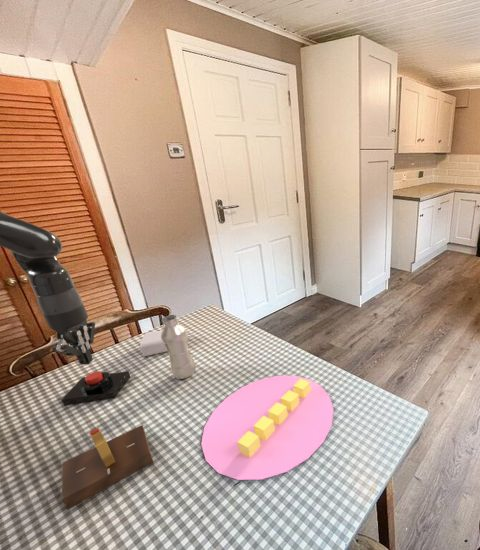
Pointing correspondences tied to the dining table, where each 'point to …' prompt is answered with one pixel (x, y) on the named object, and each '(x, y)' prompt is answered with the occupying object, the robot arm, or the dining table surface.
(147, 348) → the charger
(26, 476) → the dining table surface
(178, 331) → the plastic bottle
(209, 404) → the dining table surface
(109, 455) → the lock knob
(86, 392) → the switch block
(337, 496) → the dining table surface
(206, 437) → the platter
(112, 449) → the plate
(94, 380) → the button
